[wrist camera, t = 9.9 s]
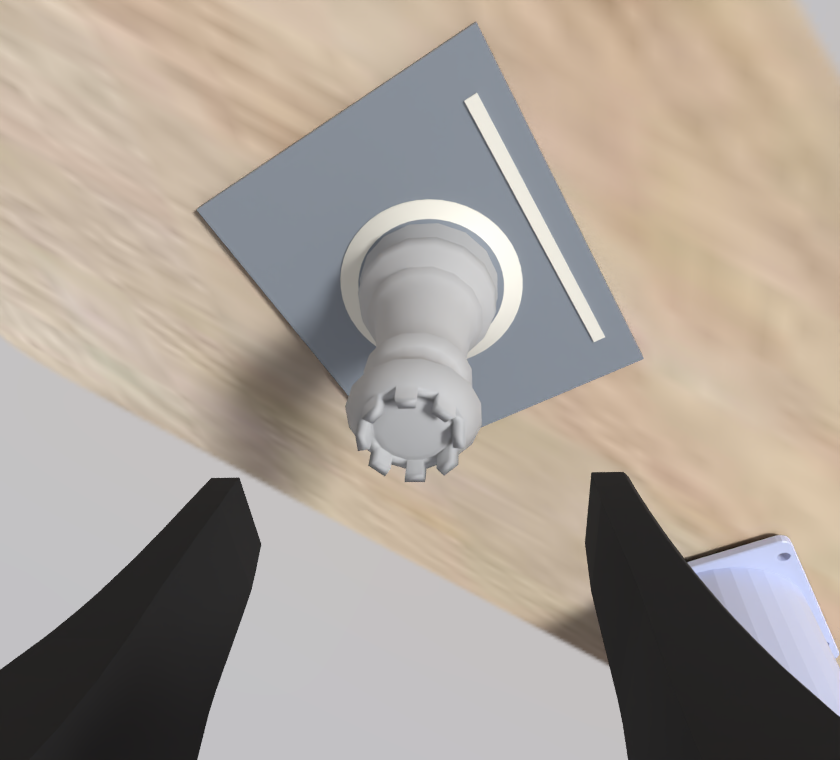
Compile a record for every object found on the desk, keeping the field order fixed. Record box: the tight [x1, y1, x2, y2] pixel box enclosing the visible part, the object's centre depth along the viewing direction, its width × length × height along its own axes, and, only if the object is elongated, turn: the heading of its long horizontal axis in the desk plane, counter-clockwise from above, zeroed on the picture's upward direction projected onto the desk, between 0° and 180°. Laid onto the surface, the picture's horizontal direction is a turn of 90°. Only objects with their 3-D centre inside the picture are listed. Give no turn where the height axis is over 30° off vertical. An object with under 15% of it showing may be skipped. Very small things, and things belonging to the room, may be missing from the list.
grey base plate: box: [197, 22, 644, 428], centre depth 22 cm, size 12×10×1 cm
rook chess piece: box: [345, 223, 498, 482], centre depth 18 cm, size 4×4×8 cm
